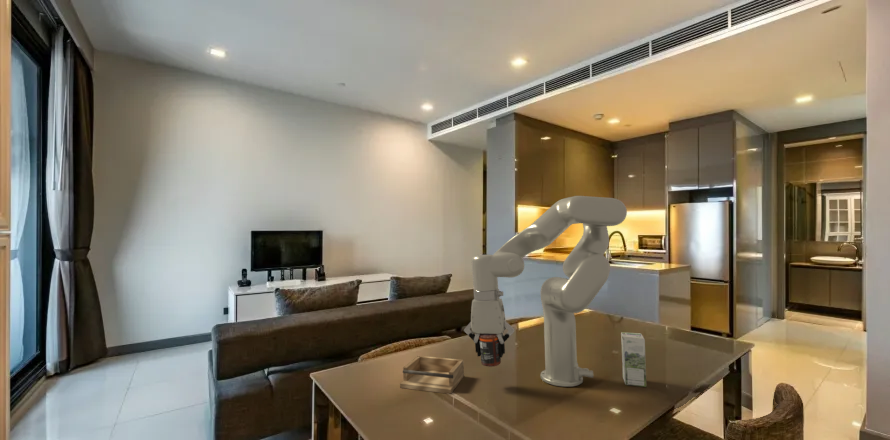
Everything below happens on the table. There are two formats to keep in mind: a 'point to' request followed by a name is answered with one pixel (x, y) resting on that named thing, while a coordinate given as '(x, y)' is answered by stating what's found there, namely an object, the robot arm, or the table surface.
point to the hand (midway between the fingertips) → (490, 354)
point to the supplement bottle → (489, 350)
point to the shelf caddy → (433, 374)
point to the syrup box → (633, 359)
